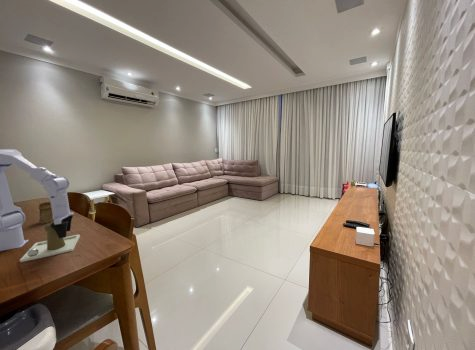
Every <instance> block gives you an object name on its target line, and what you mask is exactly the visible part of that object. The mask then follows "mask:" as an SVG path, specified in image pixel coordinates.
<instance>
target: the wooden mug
mask: <svg viewBox="0 0 475 350" xmlns="http://www.w3.org/2000/svg"><path fill="white" fill-rule="evenodd" d="M38 210H39V219H38V222H39V224H49V223H53V222H54V219H53V217H52V216H53V213H52V208H51V202H50V201H47V202H46V201H45V202H41V203H39V205H38Z"/></svg>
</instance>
